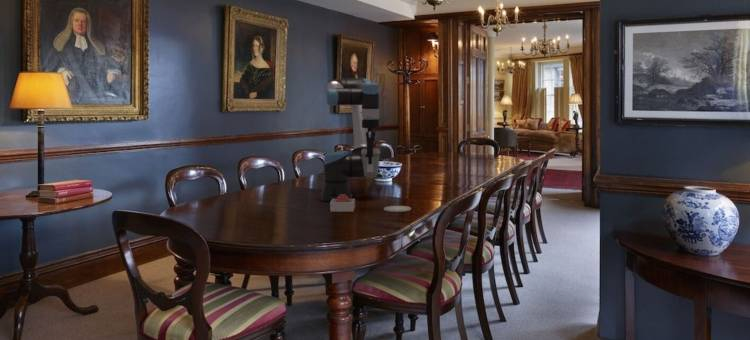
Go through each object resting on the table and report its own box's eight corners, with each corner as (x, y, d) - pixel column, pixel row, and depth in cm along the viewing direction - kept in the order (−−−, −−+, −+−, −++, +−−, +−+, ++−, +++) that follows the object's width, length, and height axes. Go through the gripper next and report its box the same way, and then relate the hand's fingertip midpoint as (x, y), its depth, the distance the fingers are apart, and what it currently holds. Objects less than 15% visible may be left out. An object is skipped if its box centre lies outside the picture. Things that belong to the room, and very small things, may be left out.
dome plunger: (333, 207, 248) (333, 196, 247) (335, 204, 255) (335, 193, 254) (350, 207, 247) (350, 196, 247) (352, 204, 255) (352, 193, 254)
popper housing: (330, 211, 247) (330, 202, 246) (332, 207, 257) (332, 198, 256) (353, 211, 246) (353, 202, 246) (355, 207, 256) (354, 198, 256)
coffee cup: (383, 175, 253) (383, 148, 251) (376, 177, 245) (376, 149, 243) (365, 174, 255) (364, 147, 254) (358, 176, 247) (358, 149, 246)
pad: (378, 209, 252) (378, 207, 252) (398, 205, 259) (398, 204, 259) (396, 212, 243) (396, 211, 243) (416, 209, 250) (416, 208, 250)
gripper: (363, 118, 258) (363, 167, 260) (360, 119, 237) (360, 173, 239) (380, 118, 257) (380, 167, 260) (378, 119, 236) (378, 173, 239)
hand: (370, 170), depth 250 cm, fingers closed on coffee cup, 8 cm apart
